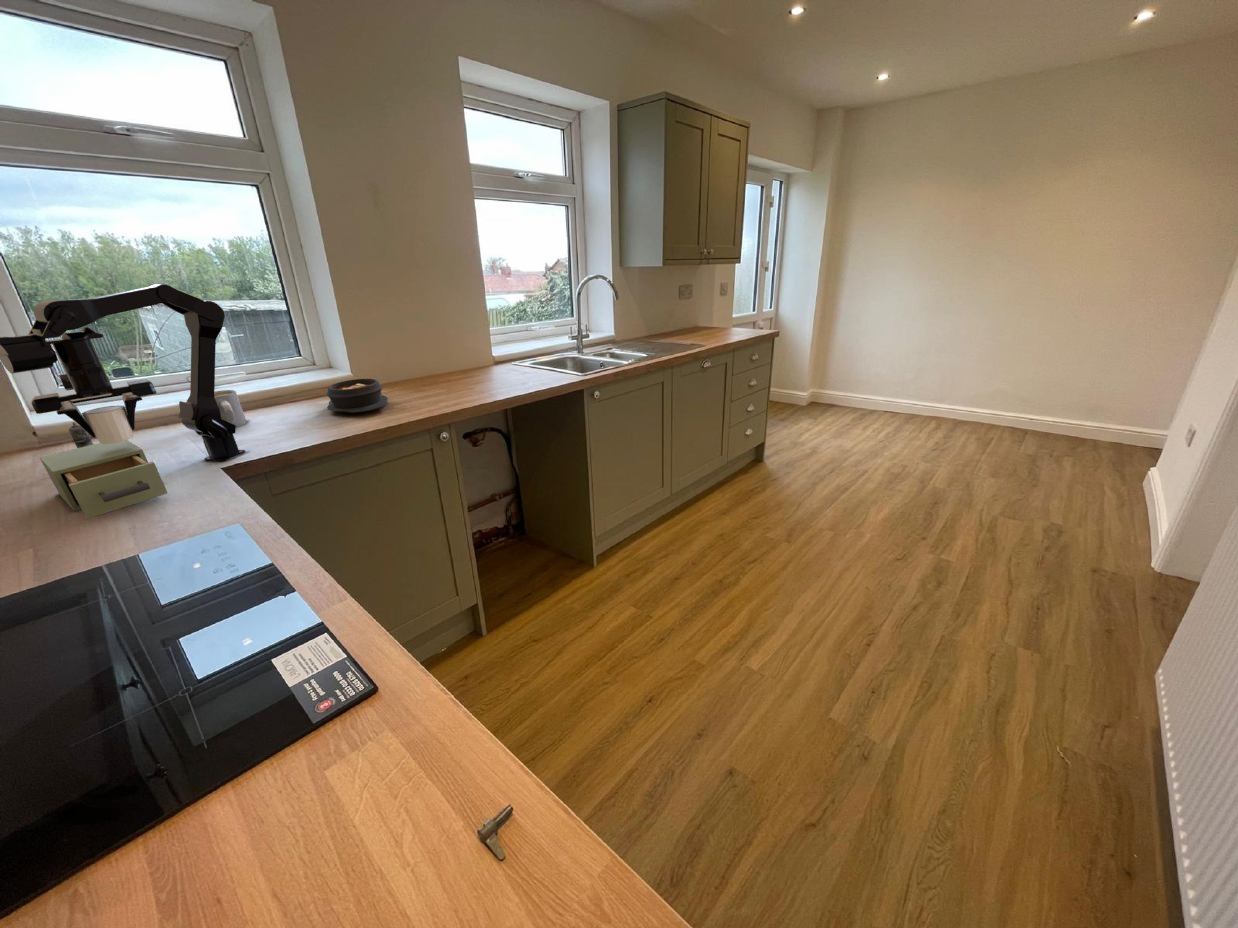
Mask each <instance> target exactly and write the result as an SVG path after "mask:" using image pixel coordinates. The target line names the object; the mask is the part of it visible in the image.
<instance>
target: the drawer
mask: <svg viewBox="0 0 1238 928" xmlns="http://www.w3.org/2000/svg"><path fill="white" fill-rule="evenodd" d="M62 474H63V476H64V478H65V480H66V482H67V484H68V486H69V488H70V489H71V491H72V493H73V495H74V497H75V499H76V500H77V501H78V503H79V505H80V507H81V509H80V510H81V511H82V513H83V515H84V516H85V518H86V519H90V518H94V517H97V516H100V515H103V514H107V513H110V512H113V511H116V510H119V509H123V508H126V507H129V506H133V505H135V504H138V503H142V502H144V501H148V500H151V499H154V498H158V497H161V496H165V495H168V493H169V492H168V490H167V488H166V486H165V484H164V481H163V479H162V477H161V475H160V472H159V470H158V467H157V466H156V464H155V462H154V461H148V463H147V462H145V461H144V460H142V459H141V458H139V457H138V456H136V455H132V456H128V457H124V458H120V459H116V460H112V461H109V462H105V463H101V464H97V465H93V466H89V467H85V468H81V469H77V470H74V471H70V472H66V473H62Z"/></svg>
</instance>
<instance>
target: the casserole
mask: <svg viewBox="0 0 1238 928" xmlns="http://www.w3.org/2000/svg"><path fill="white" fill-rule="evenodd" d="M382 389H383V385H382V384H381V383H380V382H379V381H378V380H377V379H375V378H357V379H348V380H343V381H340V382H336V383H334V384H331V385H329V386H328V387H327V392H326V394H325V395H326V396H327V397H328V398H329V399H330V400H329V401H328V404H327V407H326V409H327V410H328V411H331V412H336V413H339V412H340V413H343V414H344V413H345V414H358V413H364V412H368V411H369V412H371V411H374V410H378V409H382V408H384V407H387V406H388V405H389V402H388V401H389V398H388V396H386V395H383V394H382Z"/></svg>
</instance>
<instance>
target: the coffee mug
mask: <svg viewBox="0 0 1238 928" xmlns="http://www.w3.org/2000/svg"><path fill="white" fill-rule="evenodd" d="M214 396H215V400H216V402H217V404H218V406H219V408H220V413H221V418H222V420H225V421H227V422H229V423H232V424H234V425H235V426H236V428H238V427H240V426H243V425H245V424H246V423H247V419H246V415H245V413H244V410H243V407H242V405H241V402H240V398H239V396H238V394H237V391H236V390H234V389H223V390H221V389H220V390H214Z"/></svg>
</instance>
